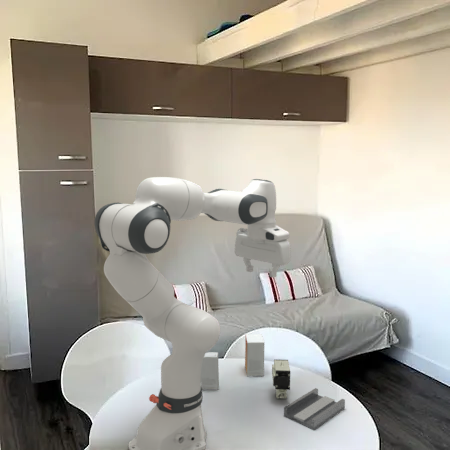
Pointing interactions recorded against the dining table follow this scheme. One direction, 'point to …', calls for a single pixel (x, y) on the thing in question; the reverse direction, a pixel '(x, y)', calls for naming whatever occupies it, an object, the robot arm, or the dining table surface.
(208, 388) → the skincare box
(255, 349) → the small box
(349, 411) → the dining table surface
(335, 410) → the rail plate
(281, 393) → the pneumatic valve
